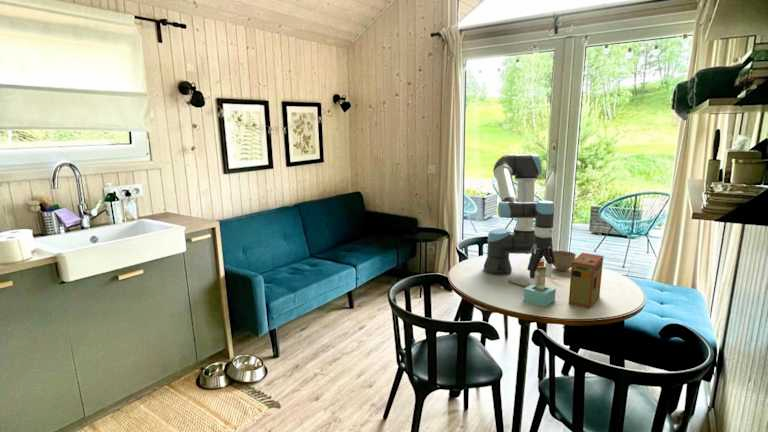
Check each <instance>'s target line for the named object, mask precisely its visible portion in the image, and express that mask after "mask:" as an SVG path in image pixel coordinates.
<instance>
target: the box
mask: <svg viewBox="0 0 768 432" xmlns="http://www.w3.org/2000/svg"><path fill="white" fill-rule="evenodd" d="M603 263H604V255H600V254H593V253H587V252H581V253H579V255H578V256H577V257H575V260H573V261H572V267H571V268H570V283H569V295H568V305H571V306H575V307H579V308H583V309H586V310H587V309H588V310H591V309H592V308H593V306H594V305H595V303H597V301H598V299H599V298H600V294H601V285H602V283H601V282H602V274H603Z"/></svg>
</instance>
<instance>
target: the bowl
mask: <svg viewBox="0 0 768 432" xmlns="http://www.w3.org/2000/svg"><path fill="white" fill-rule="evenodd" d="M553 253H554V258H555V261H553V262H554V264H552V266H554V268H556V270H557V271H563V272H565V271H568V270H569V269H571V268H572V261H573V260H575V259H576V256H577V254H576V253H574V252H571V251H567V250H553Z"/></svg>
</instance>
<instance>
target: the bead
mask: <svg viewBox="0 0 768 432" xmlns="http://www.w3.org/2000/svg"><path fill="white" fill-rule="evenodd" d="M527 286H528V287H523V301H524V302H527V303H529V304H530V303H531V304H532V305H535V306H539V307H543V308H545V307H547V306H549V305H550V304H552V303H554V302H555V301H556V290H557V289H556V287H552V286H549V285H545V291H543V292H542V291H538V290H535V285H531V284H529V285H527Z"/></svg>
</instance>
